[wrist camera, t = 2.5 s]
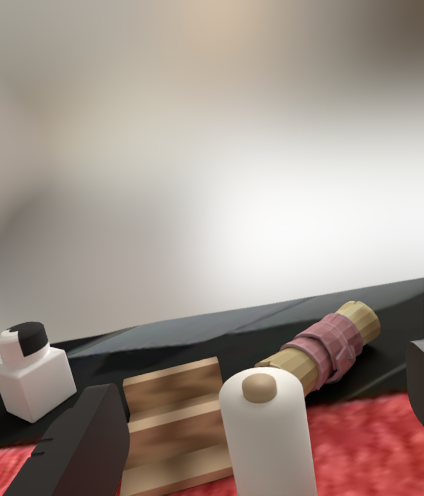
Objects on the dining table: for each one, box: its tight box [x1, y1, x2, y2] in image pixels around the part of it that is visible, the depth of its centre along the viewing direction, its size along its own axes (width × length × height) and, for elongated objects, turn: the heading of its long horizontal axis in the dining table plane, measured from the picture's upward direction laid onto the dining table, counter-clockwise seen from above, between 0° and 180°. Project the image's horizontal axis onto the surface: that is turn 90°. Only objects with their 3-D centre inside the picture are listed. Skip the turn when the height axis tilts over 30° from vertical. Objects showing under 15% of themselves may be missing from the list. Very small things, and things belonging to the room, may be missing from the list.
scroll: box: [255, 301, 380, 398], centre depth 43 cm, size 8×8×20 cm
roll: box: [219, 367, 318, 496], centre depth 23 cm, size 5×5×15 cm
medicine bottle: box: [0, 322, 76, 423], centre depth 49 cm, size 7×7×12 cm
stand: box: [120, 357, 234, 496], centre depth 39 cm, size 12×16×5 cm
